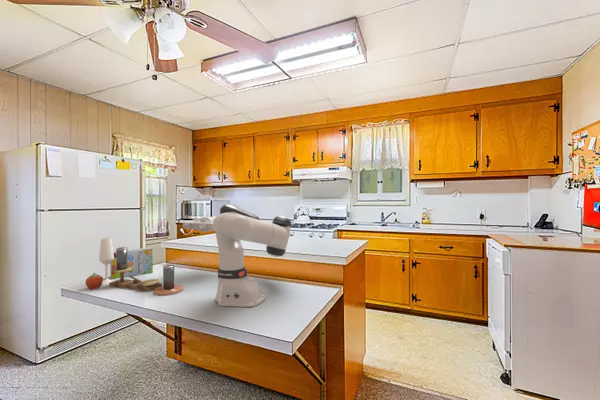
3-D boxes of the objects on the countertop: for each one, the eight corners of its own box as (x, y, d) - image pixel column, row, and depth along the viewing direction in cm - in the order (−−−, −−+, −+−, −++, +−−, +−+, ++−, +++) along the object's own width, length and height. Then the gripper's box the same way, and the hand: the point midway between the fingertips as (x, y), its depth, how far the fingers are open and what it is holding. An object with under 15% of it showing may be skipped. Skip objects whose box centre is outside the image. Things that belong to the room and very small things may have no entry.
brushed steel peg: (176, 287, 143) (176, 265, 143) (169, 290, 138) (169, 267, 138) (168, 286, 144) (168, 264, 144) (160, 289, 139) (160, 266, 139)
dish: (188, 288, 145) (188, 285, 145) (170, 296, 133) (170, 293, 133) (167, 285, 149) (167, 283, 149) (147, 293, 137) (147, 291, 137)
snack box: (150, 271, 178) (150, 247, 178) (152, 272, 174) (152, 248, 174) (110, 277, 165) (110, 251, 165) (111, 279, 161) (111, 252, 160)
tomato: (94, 291, 140) (93, 274, 140) (81, 290, 142) (81, 274, 142) (106, 286, 148) (106, 271, 148) (94, 285, 149) (94, 270, 149)
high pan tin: (130, 268, 151) (129, 247, 151) (121, 270, 146) (121, 249, 146) (122, 267, 153) (122, 247, 153) (113, 269, 148) (113, 248, 148)
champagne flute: (104, 285, 150) (104, 239, 150) (96, 283, 152) (95, 238, 152) (117, 281, 156) (116, 237, 156) (108, 280, 159) (108, 237, 158)
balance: (163, 286, 147) (163, 270, 147) (149, 292, 139) (149, 274, 139) (123, 281, 155) (123, 266, 155) (107, 286, 147) (107, 270, 147)
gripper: (222, 230, 167) (207, 233, 154) (192, 229, 173) (176, 231, 160) (222, 219, 167) (207, 221, 154) (192, 218, 173) (176, 220, 160)
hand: (191, 226), depth 157 cm, fingers open, 8 cm apart
